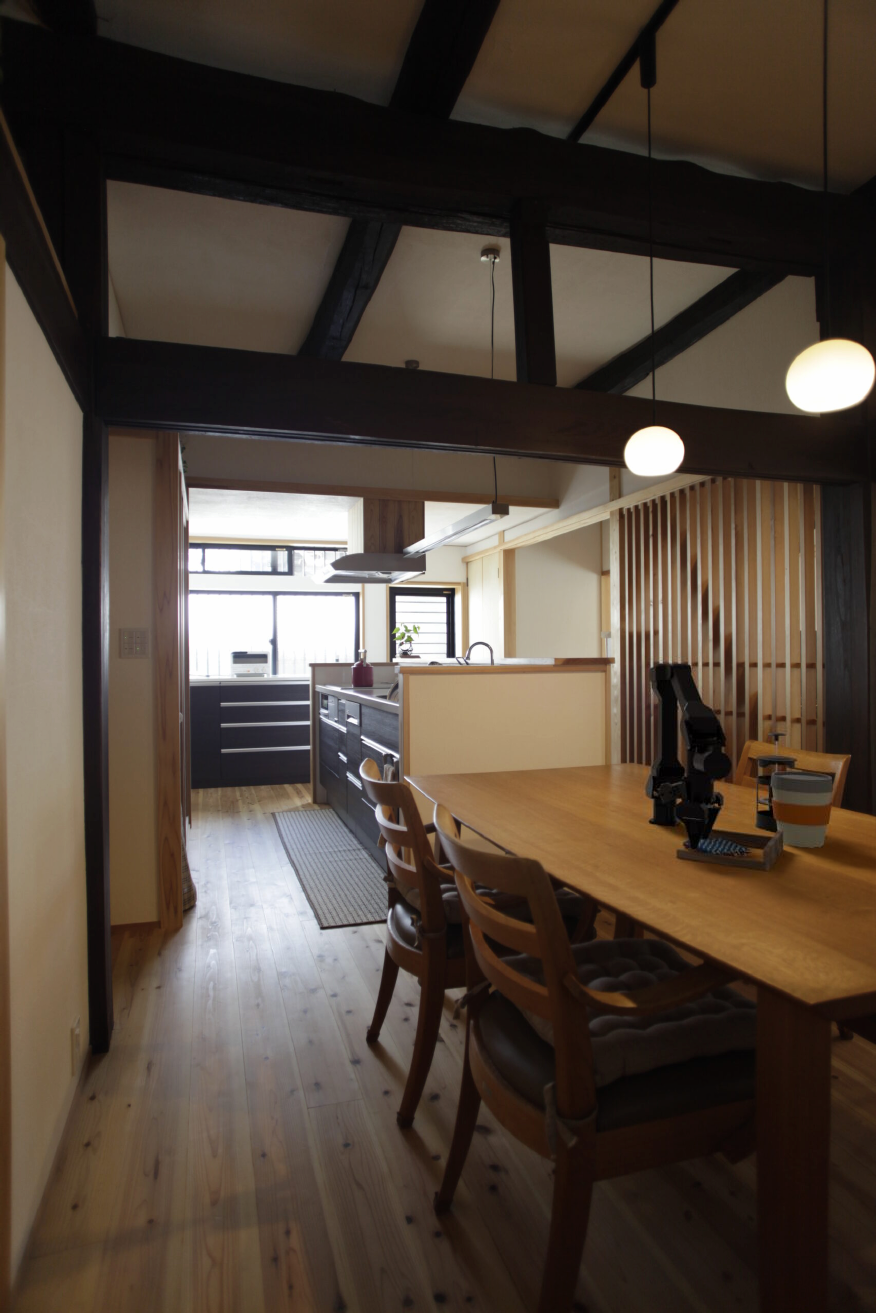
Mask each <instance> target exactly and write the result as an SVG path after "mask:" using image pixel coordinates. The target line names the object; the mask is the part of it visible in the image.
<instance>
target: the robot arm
mask: <svg viewBox="0 0 876 1313" xmlns="http://www.w3.org/2000/svg"><path fill="white" fill-rule="evenodd" d="M648 676H649V677H648V678H649V681H650V682H651V684H650V685H651V689H652V691H653V693H654V694H655V696H656V697H657V757H656V759H655V761H654V762H653V763H652V765H651V766H650V767H651V768H650V774H649V776H648V778H647V782H646V785H645V797H647V798H649V799H650V800H652V801H653V802H652V806H653V807H652V808H653V809H652V811H653V812H652V815H653V817H652V818H650V819H648V823H651V824H658V825H667V826H673V827H674V826H676V825H678V824H679V823H682V824H683V825H684V827H685V831H686V833H687V837H688V838H687V839H688V840H689V842H690V846H691V848H692V849H697V847H698V844H699V842H700V840H702V839H708V837H709V834H710V832H711V830H712V829H714V825H715V824H716V821H717V819H718V816H719V814H720V813H721V810H722V809H723V806H724V805H725V804H724V799H725V798H724V795H723V794H722V793H721V792H720V791H715V782H716V781H717V780H719V781H720V780H723V779H724V778H726V777H728V775H729V774H730V773H731V771H732V766H733V765H732V764H733V763H732V761H731V759H730V756H728V755H727V753H724V752H723V748H726V746H727V744H726V742H727V737H726V735H725V732H724V730H723V726H722V724H721V722H720V718H719V719H718V716H717V714H716V713H715V711H714V709H712V707H710V706H708V705H706V704H704V702H703V700H702V696H701V695H700V692H699V690H698V686H697V685H696V684H697V683H696V682H695V679H694V677H693V674H692V665H691V664H688V663H685V662H684V663H680V662H679V663H675V662H674V663H672V662H667V663H665V662H663V663H662V662H656V663H654V664H653V667H650V668H649V672H648ZM678 704H679V705H678ZM678 707H680V710H681V712H682V716H681V718H680V723H679V727H678V716H679V714H678V711H679V710H678V709H679V708H678ZM678 729H679V731H680V734H681V736H682V739H683V741H684V747H685V748H686V749H685V767H684V766H683V765H682V764H681V762H680V760H679V757H678V744H679V743H678V741H679V740H678V739H679V738H678V737H679V736H678V734H679V733H678ZM678 800H681V801H680V802H678ZM701 837H702V839H701Z"/></svg>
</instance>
